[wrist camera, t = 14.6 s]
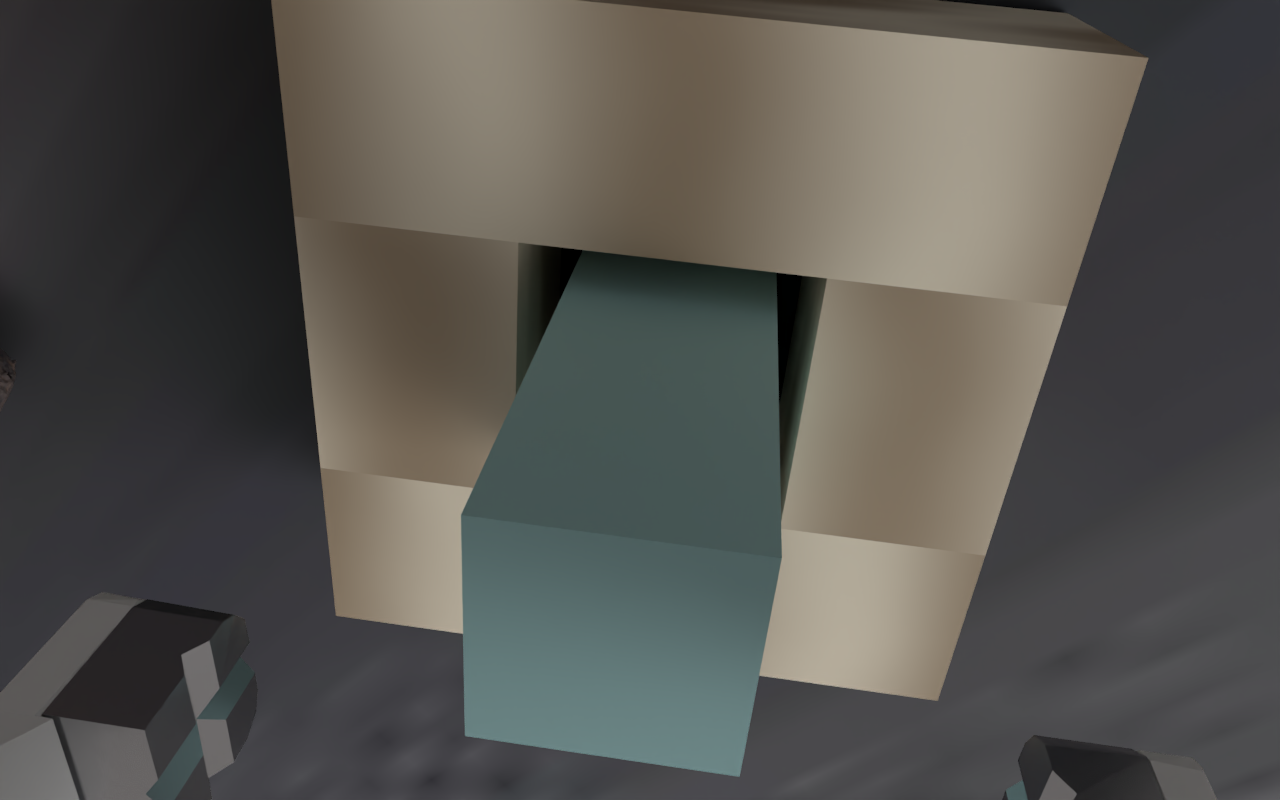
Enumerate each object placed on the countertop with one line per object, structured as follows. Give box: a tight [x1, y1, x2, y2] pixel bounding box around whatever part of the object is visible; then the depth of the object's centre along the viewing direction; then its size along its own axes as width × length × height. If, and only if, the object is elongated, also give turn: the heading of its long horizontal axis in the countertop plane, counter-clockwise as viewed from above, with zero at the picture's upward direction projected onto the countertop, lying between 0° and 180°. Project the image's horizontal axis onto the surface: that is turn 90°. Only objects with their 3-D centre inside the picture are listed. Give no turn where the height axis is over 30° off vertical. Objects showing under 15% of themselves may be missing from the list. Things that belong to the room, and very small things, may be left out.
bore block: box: [271, 0, 1148, 701], centre depth 18 cm, size 12×12×4 cm
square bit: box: [461, 250, 782, 777], centre depth 15 cm, size 3×3×10 cm
